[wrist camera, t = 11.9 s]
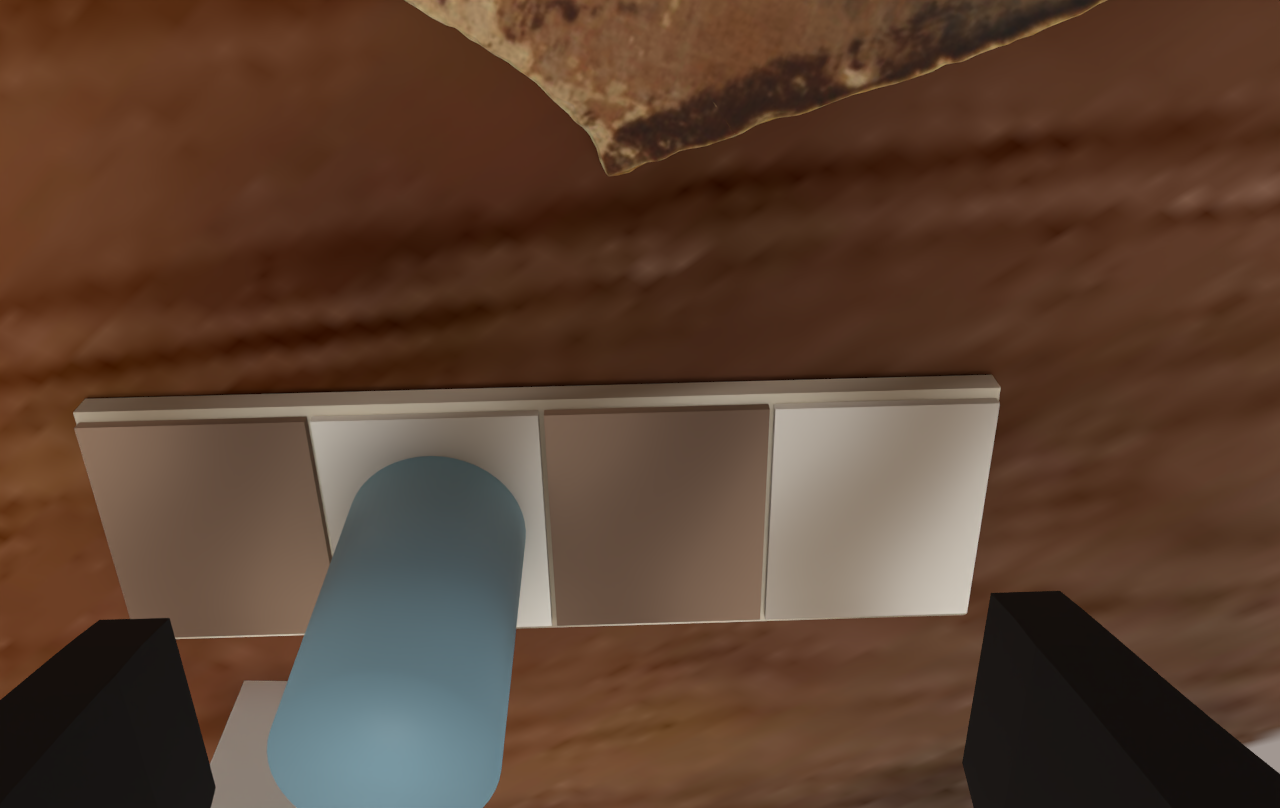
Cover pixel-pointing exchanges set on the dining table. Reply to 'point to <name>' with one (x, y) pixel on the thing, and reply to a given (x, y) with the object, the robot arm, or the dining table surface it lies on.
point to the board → (563, 496)
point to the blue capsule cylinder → (407, 647)
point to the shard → (727, 57)
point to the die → (248, 751)
